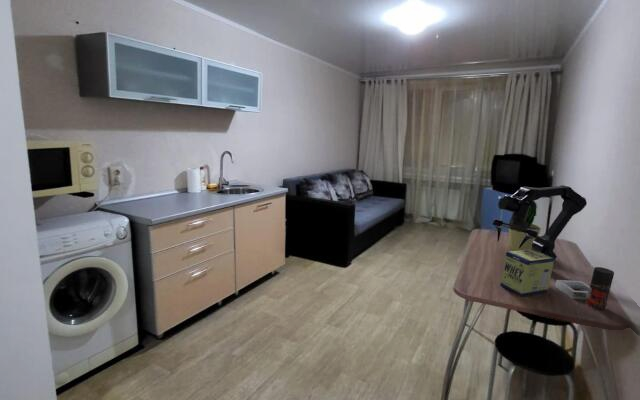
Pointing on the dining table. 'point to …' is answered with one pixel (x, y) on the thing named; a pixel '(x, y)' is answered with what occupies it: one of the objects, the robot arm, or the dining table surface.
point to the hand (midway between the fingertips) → (508, 244)
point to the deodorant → (599, 288)
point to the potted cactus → (517, 237)
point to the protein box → (527, 272)
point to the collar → (570, 285)
